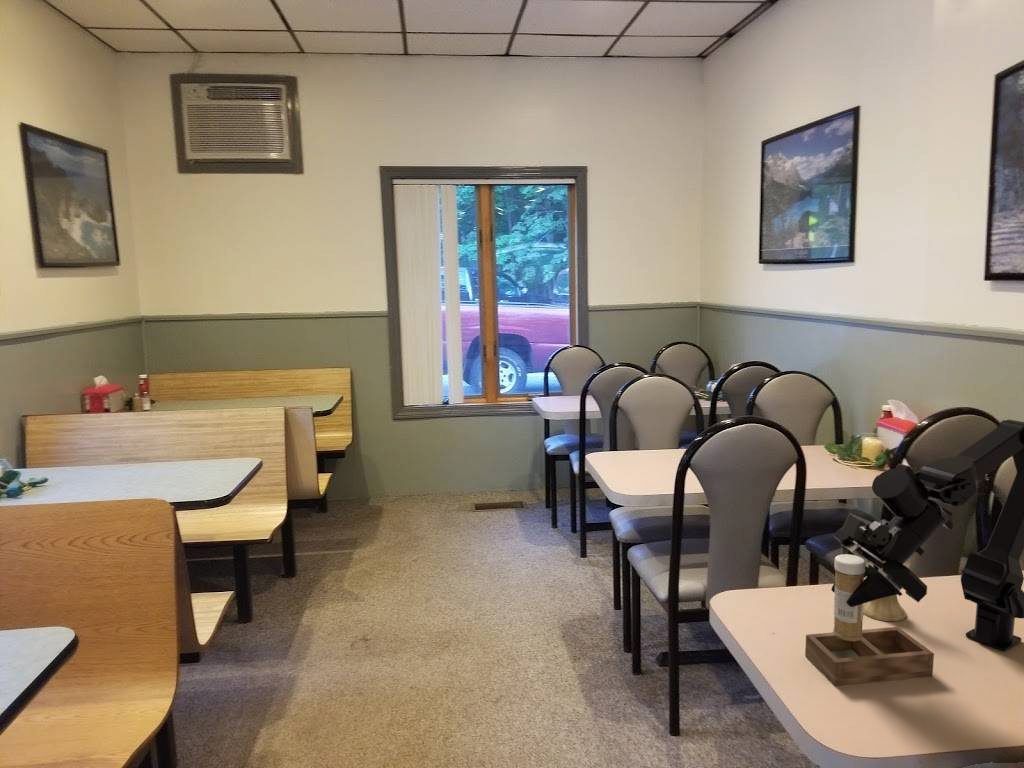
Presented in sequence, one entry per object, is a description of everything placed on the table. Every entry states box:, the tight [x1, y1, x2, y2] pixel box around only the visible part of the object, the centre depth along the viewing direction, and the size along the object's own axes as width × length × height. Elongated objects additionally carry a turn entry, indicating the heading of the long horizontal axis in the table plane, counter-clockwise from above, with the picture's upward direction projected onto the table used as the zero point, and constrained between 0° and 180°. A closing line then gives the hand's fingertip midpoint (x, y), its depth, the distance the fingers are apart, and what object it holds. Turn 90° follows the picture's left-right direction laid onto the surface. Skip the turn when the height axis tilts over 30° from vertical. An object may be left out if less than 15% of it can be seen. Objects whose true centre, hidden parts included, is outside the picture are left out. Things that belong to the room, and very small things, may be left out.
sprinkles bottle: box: [832, 553, 865, 641], centre depth 118 cm, size 5×5×14 cm
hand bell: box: [863, 562, 907, 623], centre depth 137 cm, size 8×8×16 cm
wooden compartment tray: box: [804, 626, 935, 687], centre depth 120 cm, size 17×9×4 cm, turn 97°
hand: (840, 598), depth 118 cm, fingers closed on sprinkles bottle, 4 cm apart
